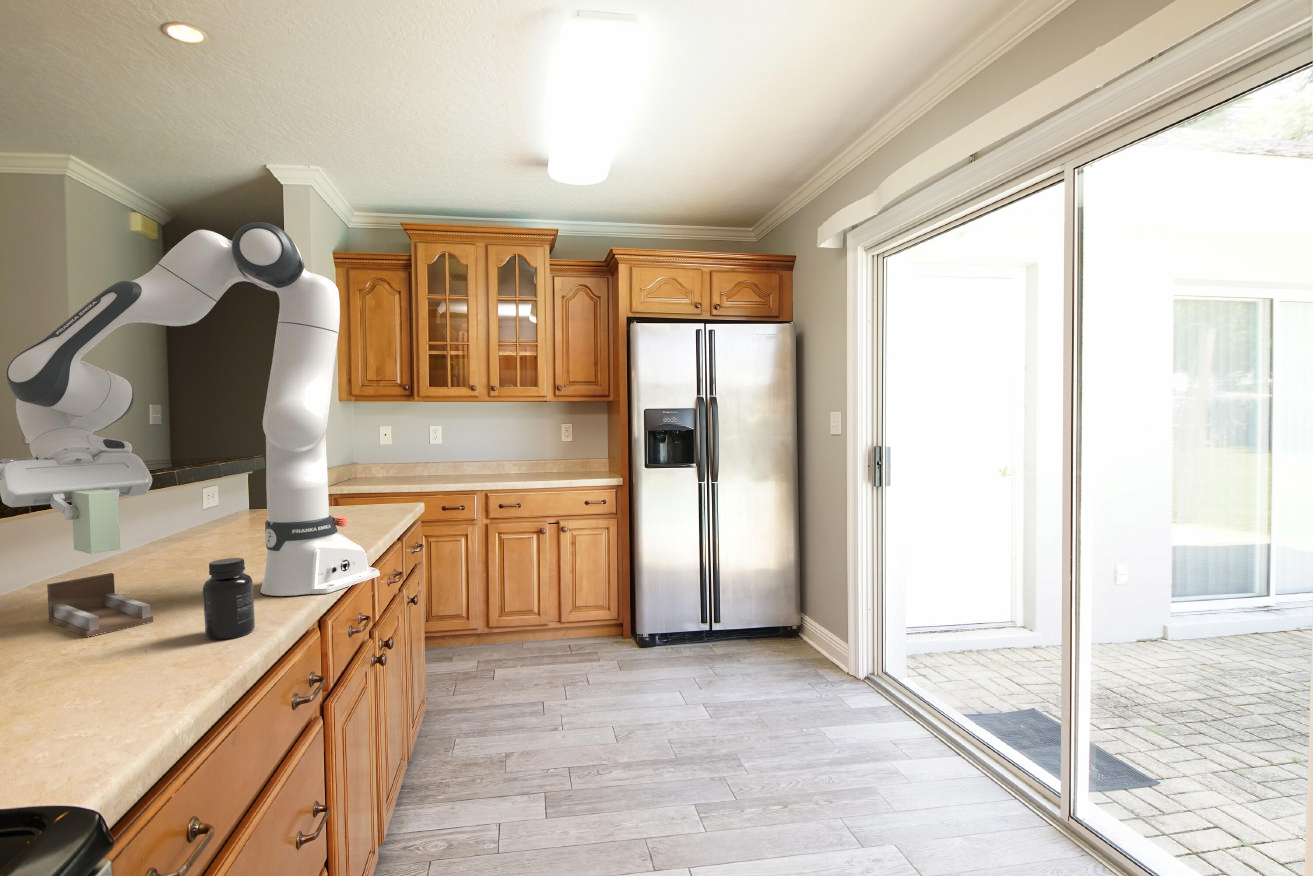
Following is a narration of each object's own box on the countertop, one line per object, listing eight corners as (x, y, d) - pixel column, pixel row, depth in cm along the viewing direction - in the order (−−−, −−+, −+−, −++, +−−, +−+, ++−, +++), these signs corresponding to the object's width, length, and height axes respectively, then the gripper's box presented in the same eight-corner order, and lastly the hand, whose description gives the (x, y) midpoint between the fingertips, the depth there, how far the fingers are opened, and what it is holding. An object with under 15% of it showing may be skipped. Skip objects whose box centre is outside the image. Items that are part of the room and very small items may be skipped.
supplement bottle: (249, 623, 112) (246, 553, 111) (259, 633, 107) (257, 560, 106) (200, 633, 107) (197, 560, 107) (209, 644, 102) (206, 567, 102)
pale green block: (73, 549, 113) (71, 491, 113) (102, 545, 116) (100, 489, 116) (91, 554, 109) (88, 494, 109) (120, 549, 113) (118, 491, 112)
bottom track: (49, 621, 114) (47, 584, 113) (112, 607, 121) (111, 572, 121) (87, 637, 106) (85, 597, 105) (153, 621, 113) (151, 584, 113)
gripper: (-9, 447, 107) (16, 511, 103) (140, 441, 125) (166, 496, 121) (-17, 473, 110) (7, 537, 105) (130, 464, 128) (156, 518, 123)
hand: (93, 515), depth 113 cm, fingers closed on pale green block, 4 cm apart
